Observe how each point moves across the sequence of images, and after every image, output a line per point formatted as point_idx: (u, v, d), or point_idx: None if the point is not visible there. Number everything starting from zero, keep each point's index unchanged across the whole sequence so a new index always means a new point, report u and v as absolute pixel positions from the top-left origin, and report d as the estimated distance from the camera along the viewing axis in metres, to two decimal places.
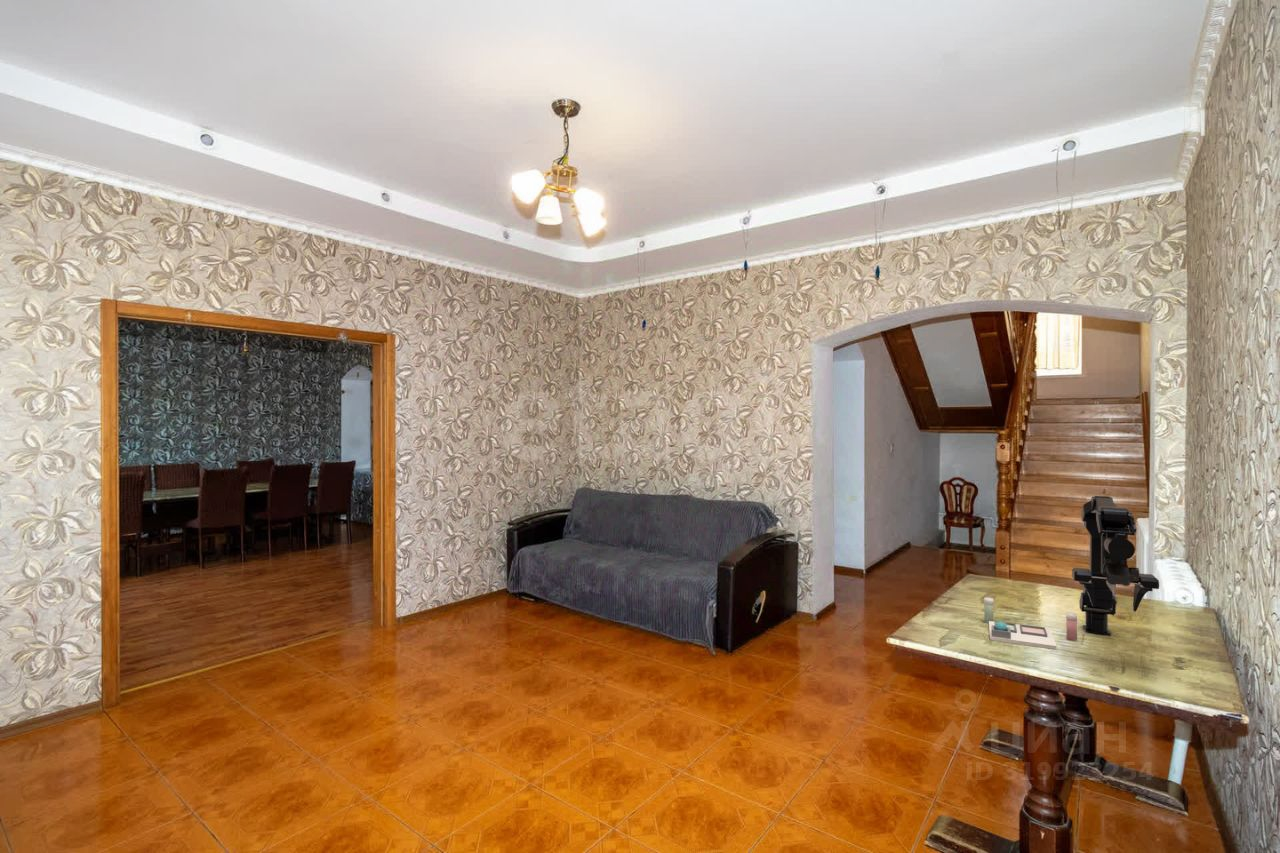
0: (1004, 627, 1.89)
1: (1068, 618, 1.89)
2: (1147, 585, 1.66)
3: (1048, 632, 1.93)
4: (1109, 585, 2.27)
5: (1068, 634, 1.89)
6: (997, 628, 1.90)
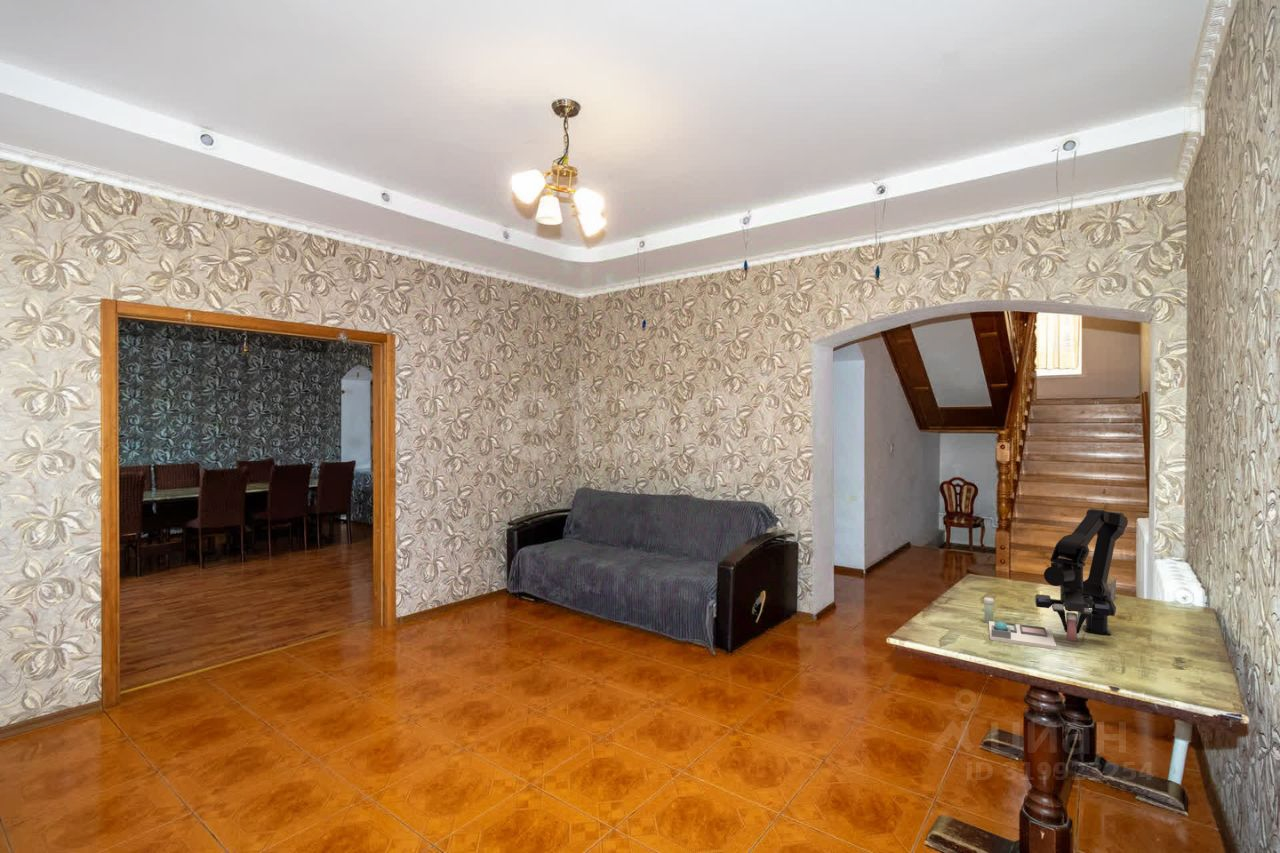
0: (1004, 627, 1.89)
1: (1068, 618, 1.89)
2: (1100, 612, 1.83)
3: (1048, 632, 1.93)
4: (1109, 585, 2.27)
5: (1068, 634, 1.89)
6: (997, 628, 1.90)
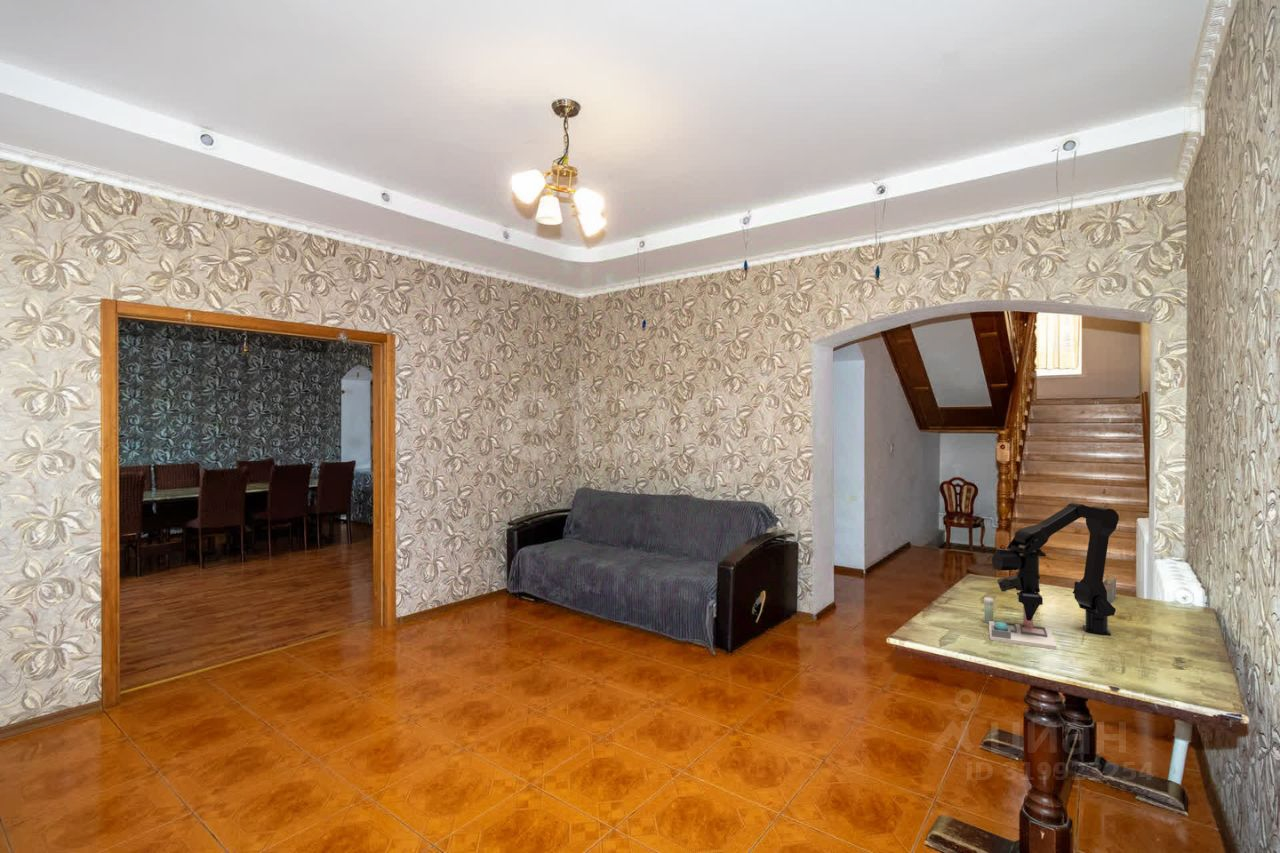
0: (1004, 627, 1.89)
1: None
2: (1018, 597, 1.91)
3: (1048, 632, 1.93)
4: (1109, 585, 2.27)
5: None
6: (997, 628, 1.90)
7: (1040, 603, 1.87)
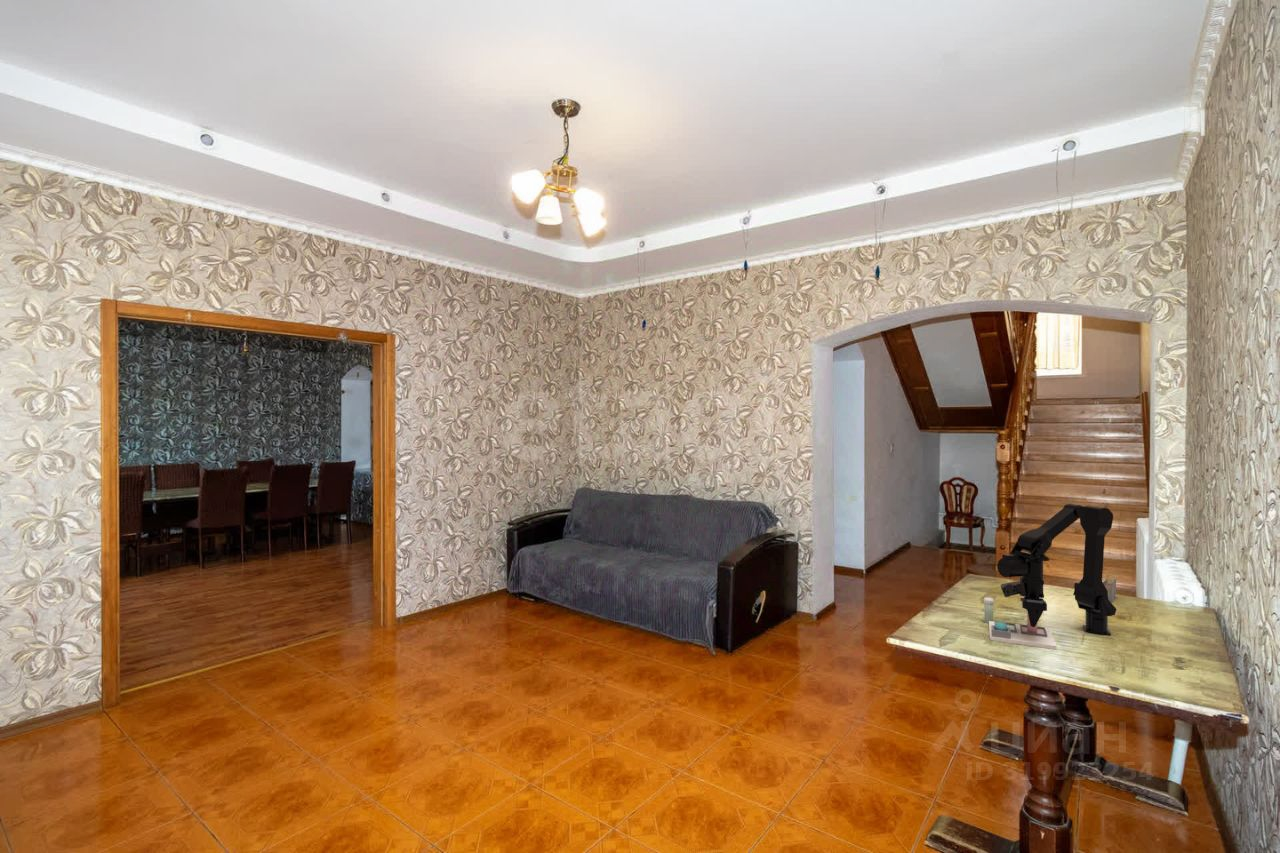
0: (1004, 627, 1.89)
1: None
2: None
3: (1048, 632, 1.93)
4: (1109, 585, 2.27)
5: None
6: (997, 628, 1.90)
7: (1044, 609, 1.83)
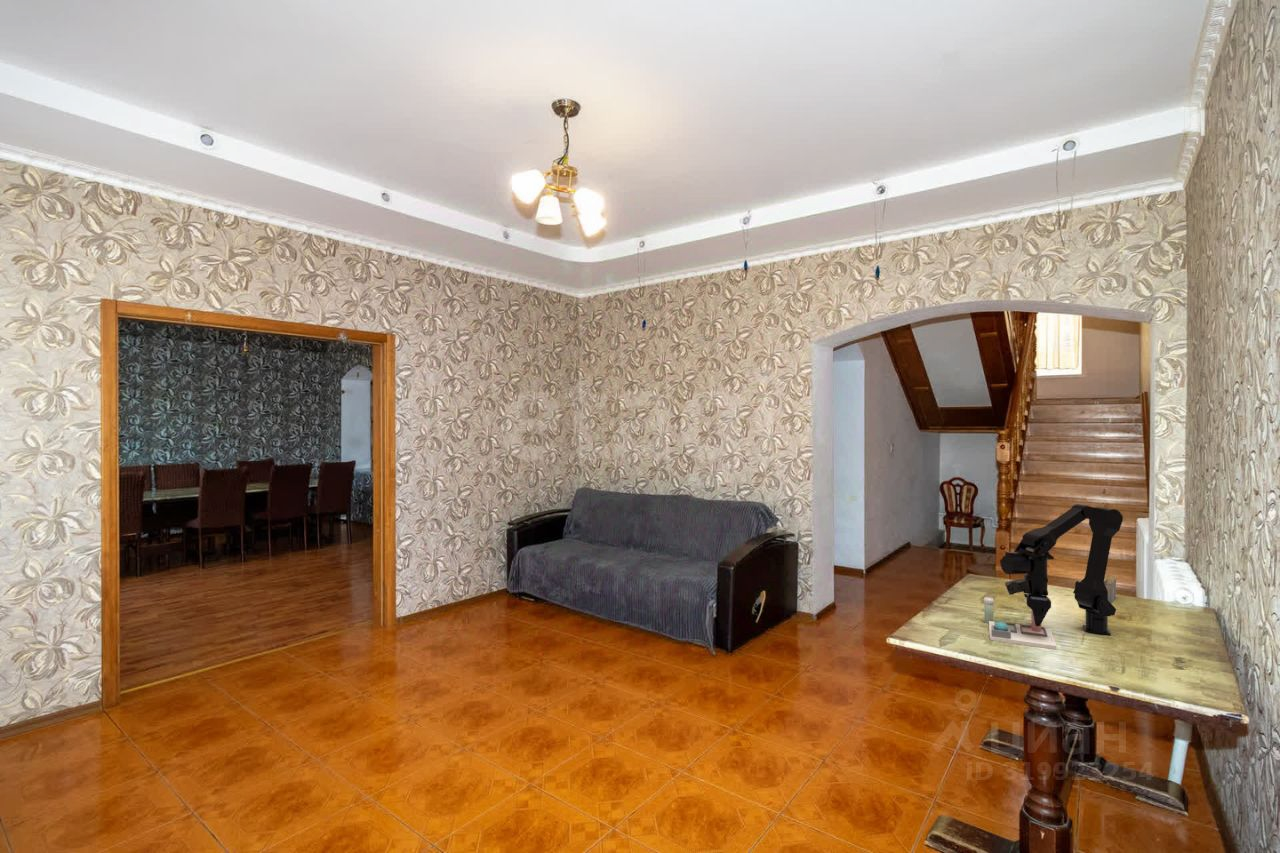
0: (1004, 627, 1.89)
1: None
2: (1026, 601, 1.90)
3: (1048, 632, 1.93)
4: (1109, 585, 2.27)
5: None
6: (997, 628, 1.90)
7: (1049, 606, 1.85)
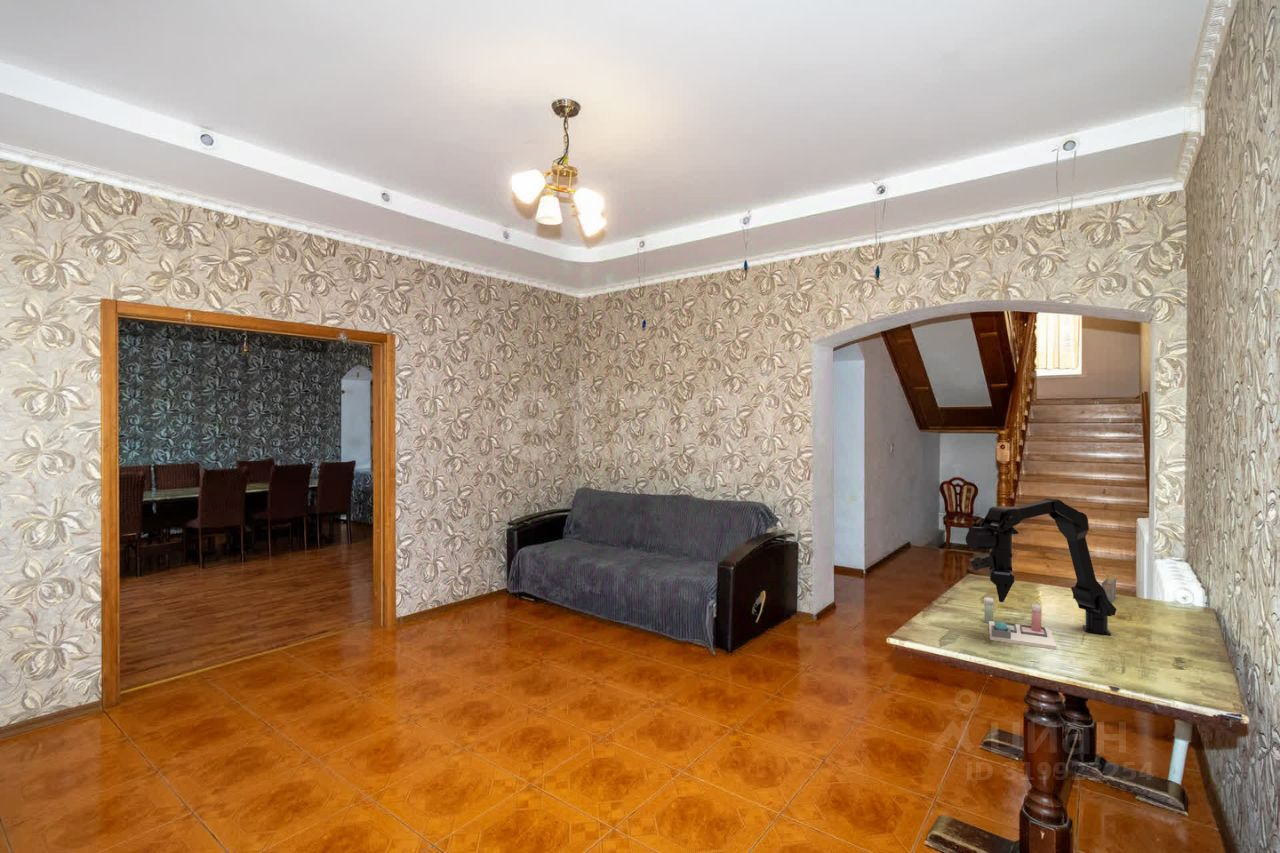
0: (1004, 627, 1.89)
1: None
2: None
3: (1048, 632, 1.93)
4: (1109, 585, 2.27)
5: None
6: (997, 628, 1.90)
7: (1012, 581, 1.81)
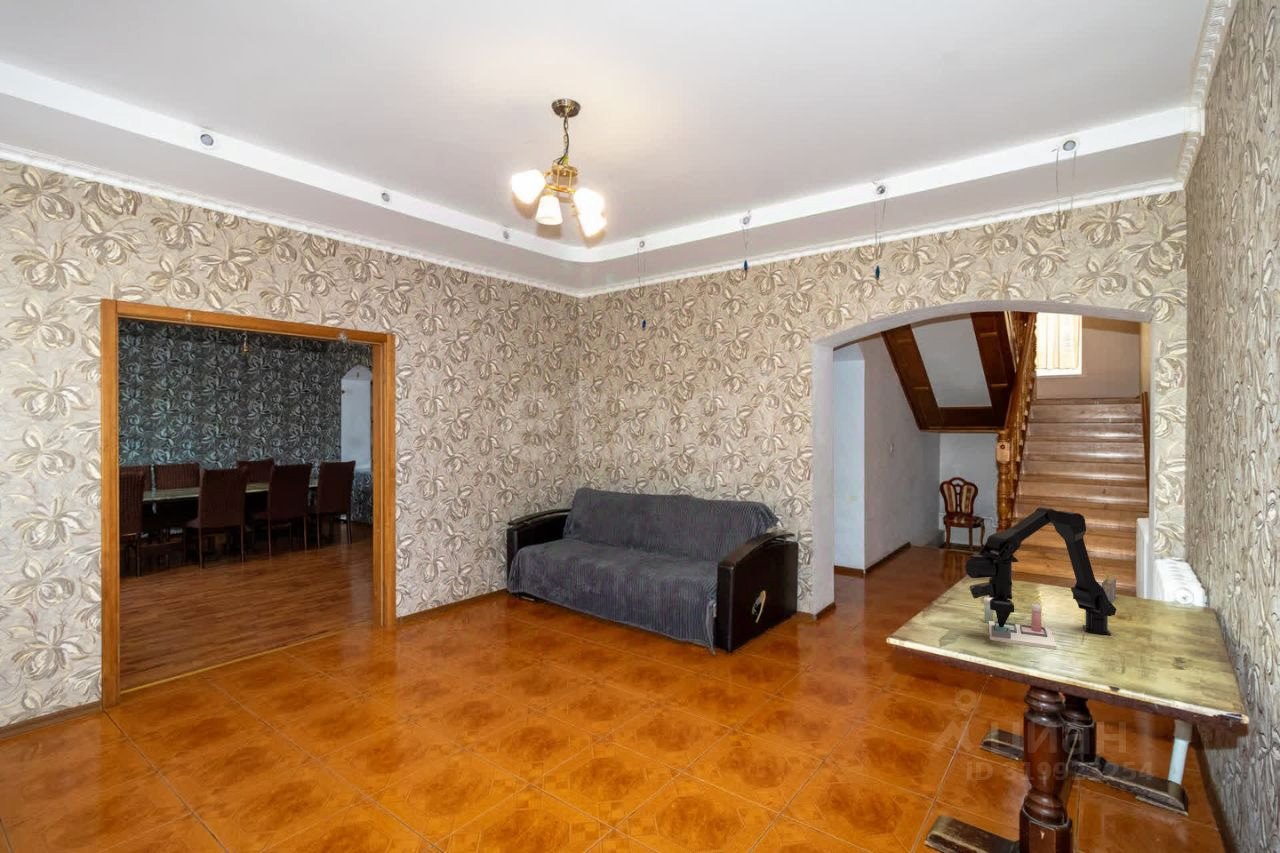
0: None
1: None
2: None
3: (1048, 632, 1.93)
4: (1109, 585, 2.27)
5: None
6: None
7: (1012, 611, 1.81)
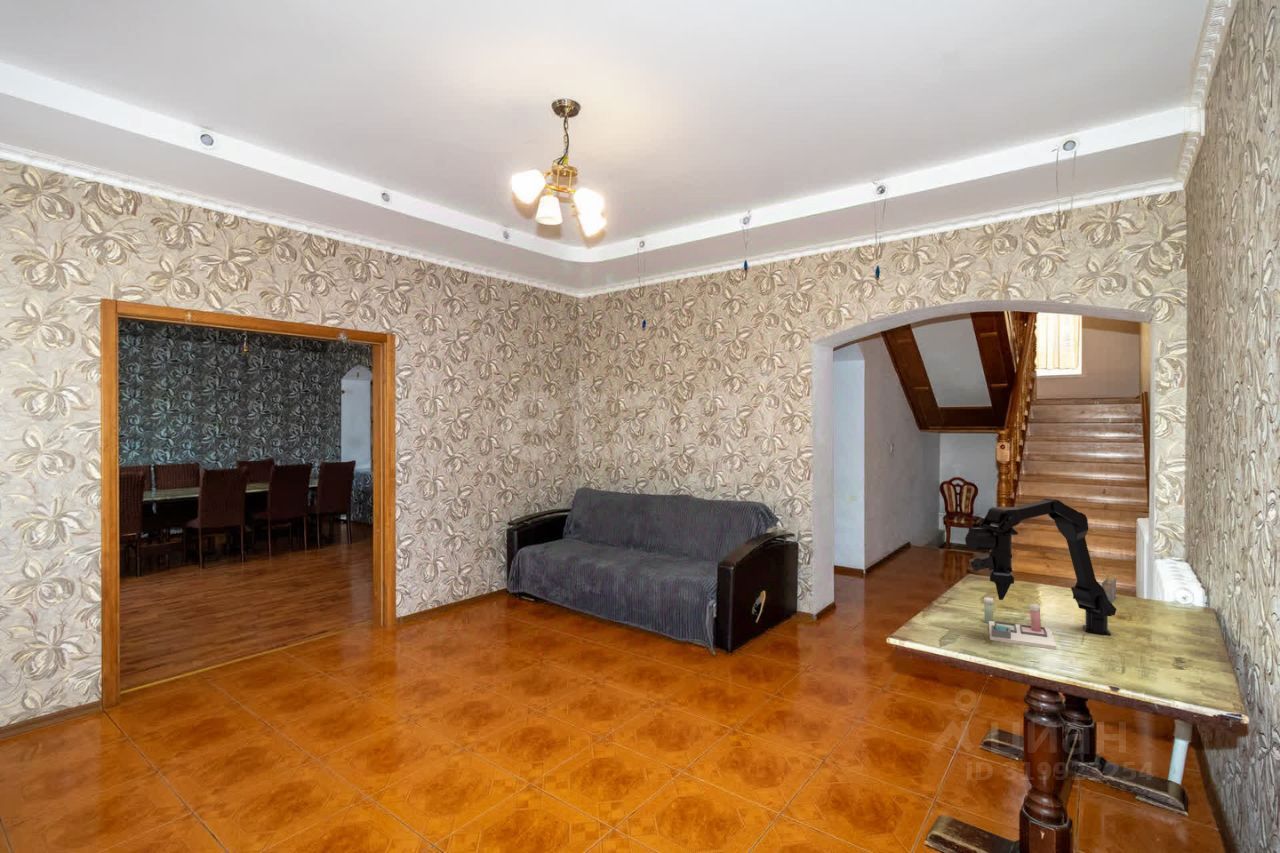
0: None
1: None
2: None
3: (1048, 632, 1.93)
4: (1109, 585, 2.27)
5: None
6: None
7: (1011, 582, 1.81)
